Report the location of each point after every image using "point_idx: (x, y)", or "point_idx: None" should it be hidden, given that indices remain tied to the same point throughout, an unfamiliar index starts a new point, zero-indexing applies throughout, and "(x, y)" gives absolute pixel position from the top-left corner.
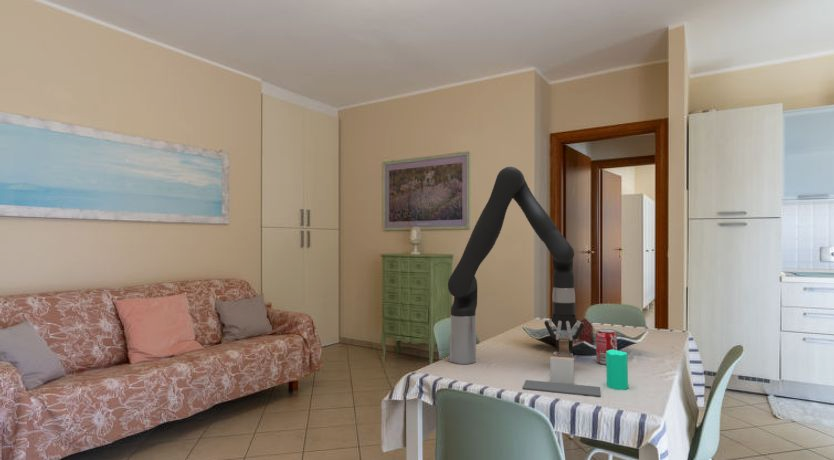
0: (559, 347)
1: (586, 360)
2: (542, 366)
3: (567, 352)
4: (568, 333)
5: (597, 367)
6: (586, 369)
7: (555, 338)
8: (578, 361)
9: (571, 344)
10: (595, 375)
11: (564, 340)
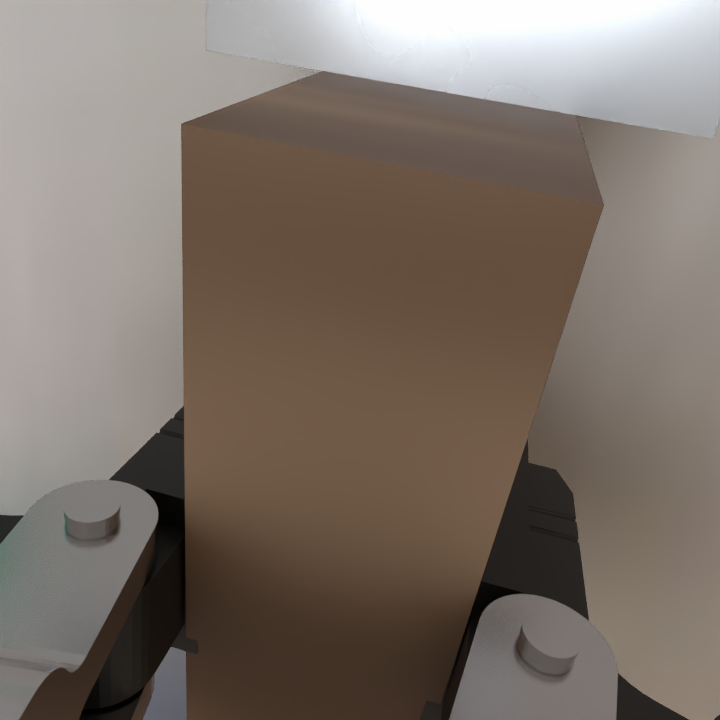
0: (564, 139)
1: (159, 674)
2: (717, 462)
3: (344, 72)
4: (21, 668)
5: (58, 446)
6: (167, 361)
7: (614, 684)
8: None
9: (172, 452)
10: (68, 96)
11: (322, 417)
